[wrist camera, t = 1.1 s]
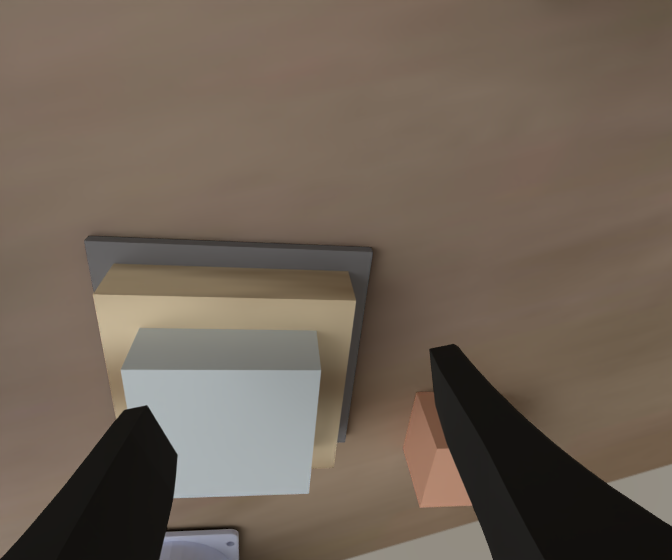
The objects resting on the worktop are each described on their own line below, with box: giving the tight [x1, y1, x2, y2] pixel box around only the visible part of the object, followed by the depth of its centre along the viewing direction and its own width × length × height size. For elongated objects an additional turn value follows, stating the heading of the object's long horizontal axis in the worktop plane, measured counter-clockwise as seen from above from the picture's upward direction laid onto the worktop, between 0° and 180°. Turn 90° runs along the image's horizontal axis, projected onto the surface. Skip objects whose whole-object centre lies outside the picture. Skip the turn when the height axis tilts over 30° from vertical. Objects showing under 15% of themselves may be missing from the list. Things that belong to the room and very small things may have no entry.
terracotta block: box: [403, 392, 472, 508], centre depth 25 cm, size 4×4×4 cm
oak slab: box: [93, 264, 356, 468], centre depth 21 cm, size 10×10×2 cm
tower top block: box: [121, 328, 321, 498], centre depth 19 cm, size 7×7×2 cm
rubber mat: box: [84, 236, 373, 442], centre depth 23 cm, size 12×12×1 cm
